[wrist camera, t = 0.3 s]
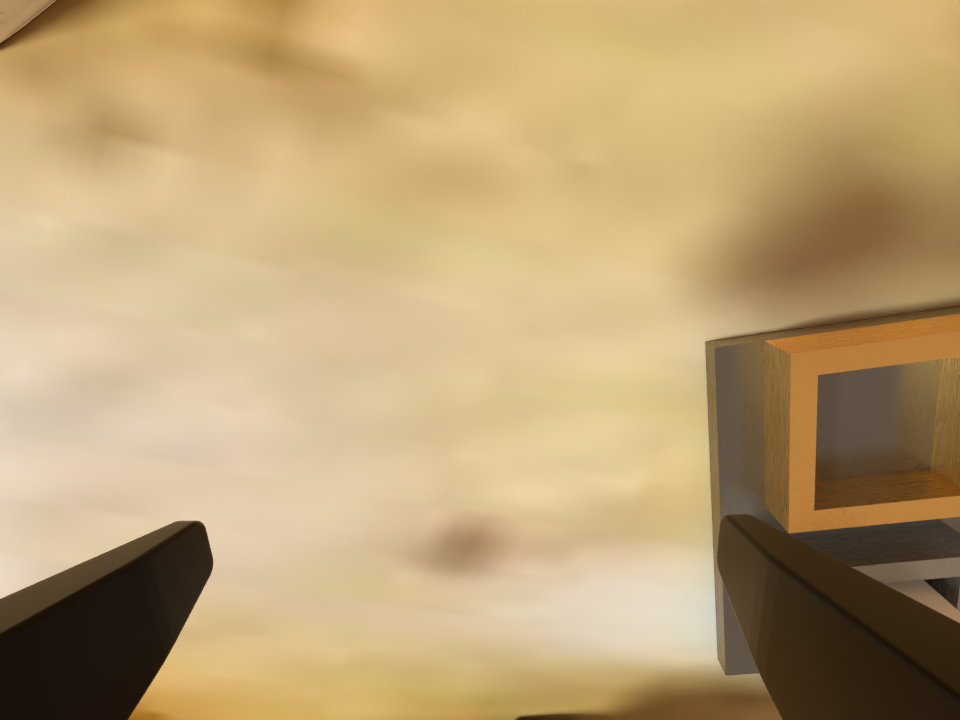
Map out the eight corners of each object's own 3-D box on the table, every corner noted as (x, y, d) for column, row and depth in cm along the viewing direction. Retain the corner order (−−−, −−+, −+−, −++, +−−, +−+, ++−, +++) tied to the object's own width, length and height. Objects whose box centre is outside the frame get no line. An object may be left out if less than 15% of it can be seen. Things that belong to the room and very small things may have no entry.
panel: (957, 641, 25) (1016, 696, 22) (717, 658, 26) (743, 713, 23) (1003, 300, 20) (1085, 313, 17) (705, 341, 21) (735, 361, 18)
